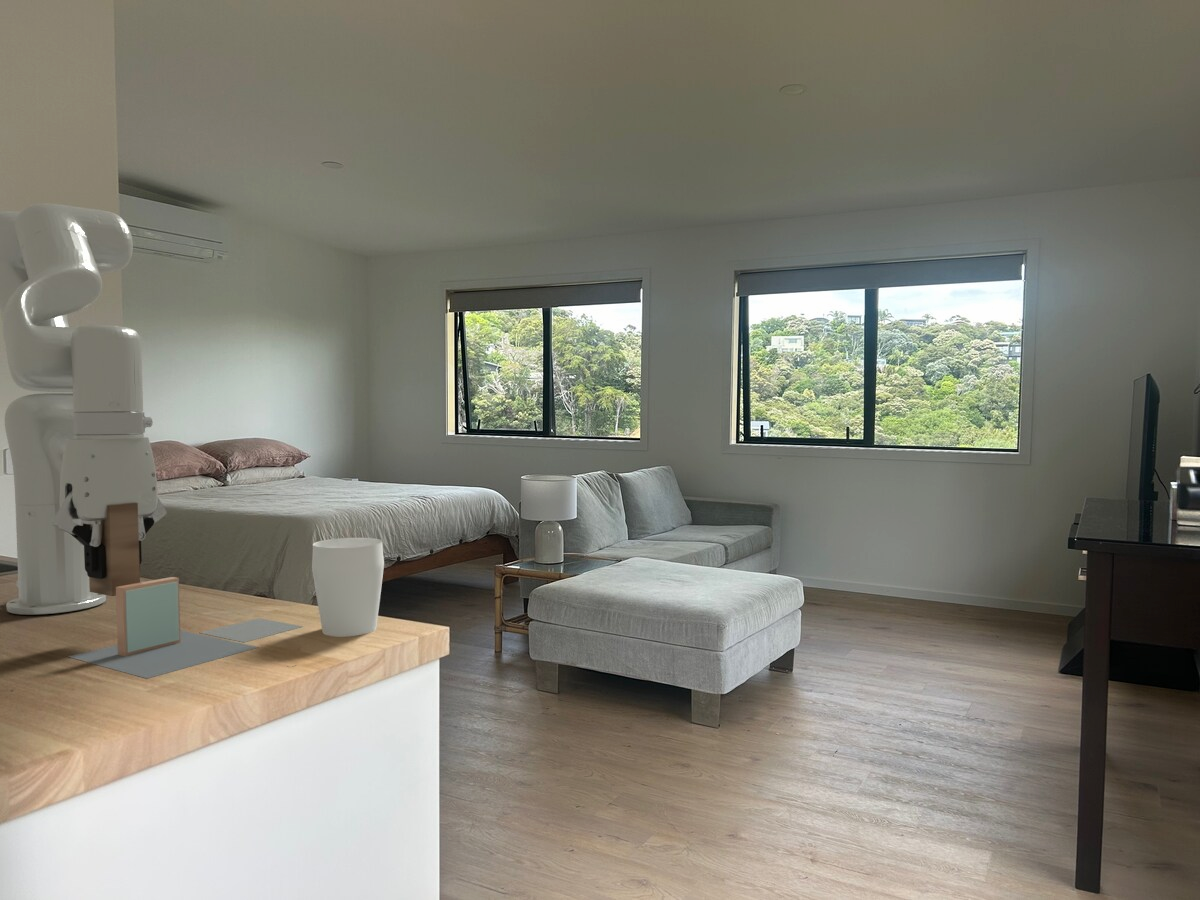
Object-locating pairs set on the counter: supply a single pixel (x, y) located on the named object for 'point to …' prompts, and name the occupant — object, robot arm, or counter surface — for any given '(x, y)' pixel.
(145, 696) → the counter surface
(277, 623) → the coaster
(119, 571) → the bar
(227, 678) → the counter surface
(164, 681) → the counter surface
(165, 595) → the tile
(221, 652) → the mat
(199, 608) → the counter surface
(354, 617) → the cup
